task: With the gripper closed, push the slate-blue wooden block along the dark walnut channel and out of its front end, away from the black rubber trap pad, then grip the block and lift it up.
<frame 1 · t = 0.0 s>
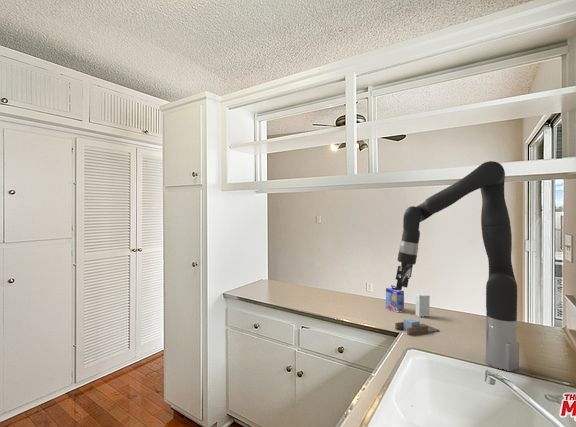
hand: (401, 288, 135), 22 cm above the worktop, tool pointing down, fingers open, 8 cm apart
block: (411, 331, 147), on the worktop
channel: (411, 330, 147), on the worktop
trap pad: (426, 328, 151), on the worktop
skincare box: (422, 316, 172), on the worktop
ink cartridge box: (394, 310, 183), on the worktop
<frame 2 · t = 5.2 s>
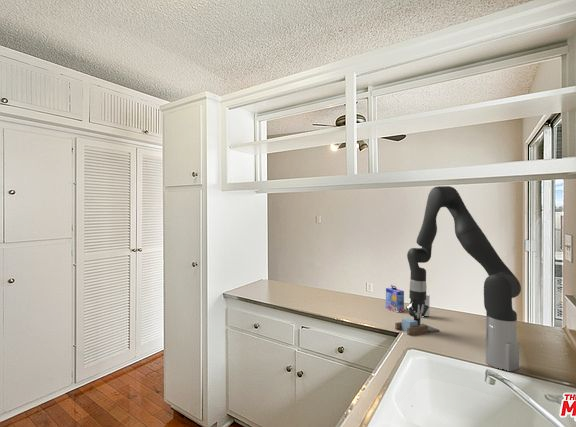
hand: (417, 325, 149), 2 cm above the worktop, tool pointing down, fingers closed
block: (409, 330, 147), on the worktop, touching gripper
everything else where it was.
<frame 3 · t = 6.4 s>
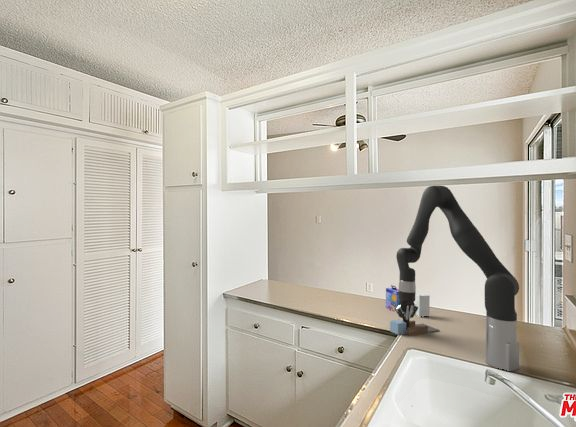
hand: (406, 326, 146), 2 cm above the worktop, tool pointing down, fingers closed
block: (398, 332, 144), on the worktop, touching gripper
everything else where it was.
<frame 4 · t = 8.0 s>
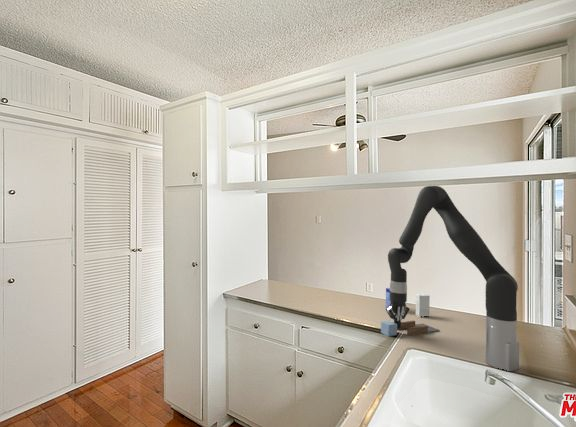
hand: (397, 328, 143), 2 cm above the worktop, tool pointing down, fingers closed
block: (388, 333, 141), on the worktop, touching gripper
everything else where it was.
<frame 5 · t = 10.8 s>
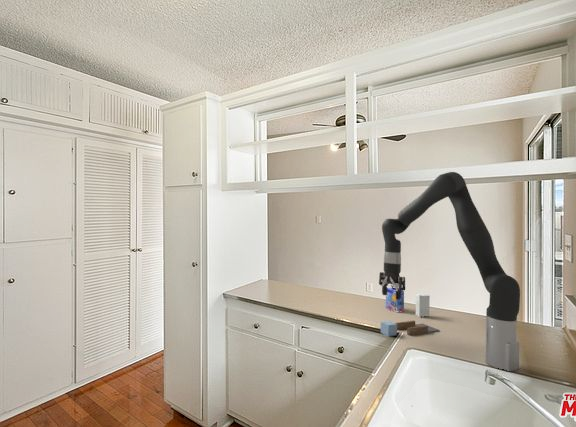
hand: (391, 297, 142), 17 cm above the worktop, tool pointing down, fingers open, 8 cm apart
block: (388, 334, 141), on the worktop
everything else where it was.
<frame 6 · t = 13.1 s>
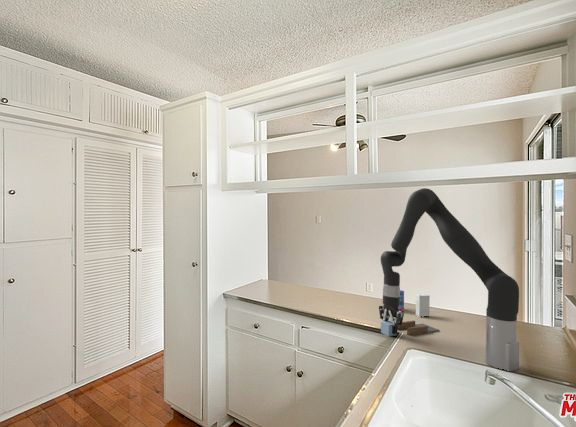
hand: (390, 331, 142), 1 cm above the worktop, tool pointing down, fingers closed on block, 5 cm apart
block: (388, 333, 141), on the worktop, touching gripper
everything else where it was.
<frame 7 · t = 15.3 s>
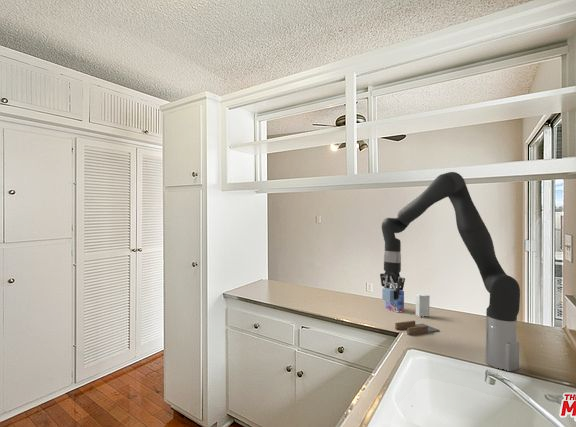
hand: (391, 297, 142), 16 cm above the worktop, tool pointing down, fingers closed on block, 5 cm apart
block: (390, 300, 142), point 15 cm above the worktop, touching gripper
everything else where it was.
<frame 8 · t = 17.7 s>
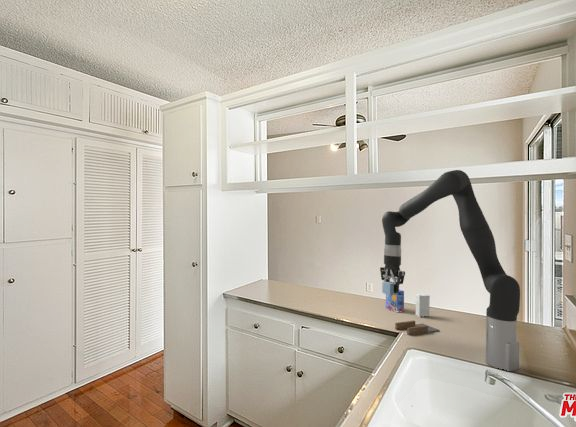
hand: (391, 291, 142), 19 cm above the worktop, tool pointing down, fingers closed on block, 5 cm apart
block: (390, 293, 142), point 18 cm above the worktop, touching gripper
everything else where it was.
at the end: the gripper is holding block; block inside the target area (0.2 cm from its centre), point 18.4 cm above the worktop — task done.
